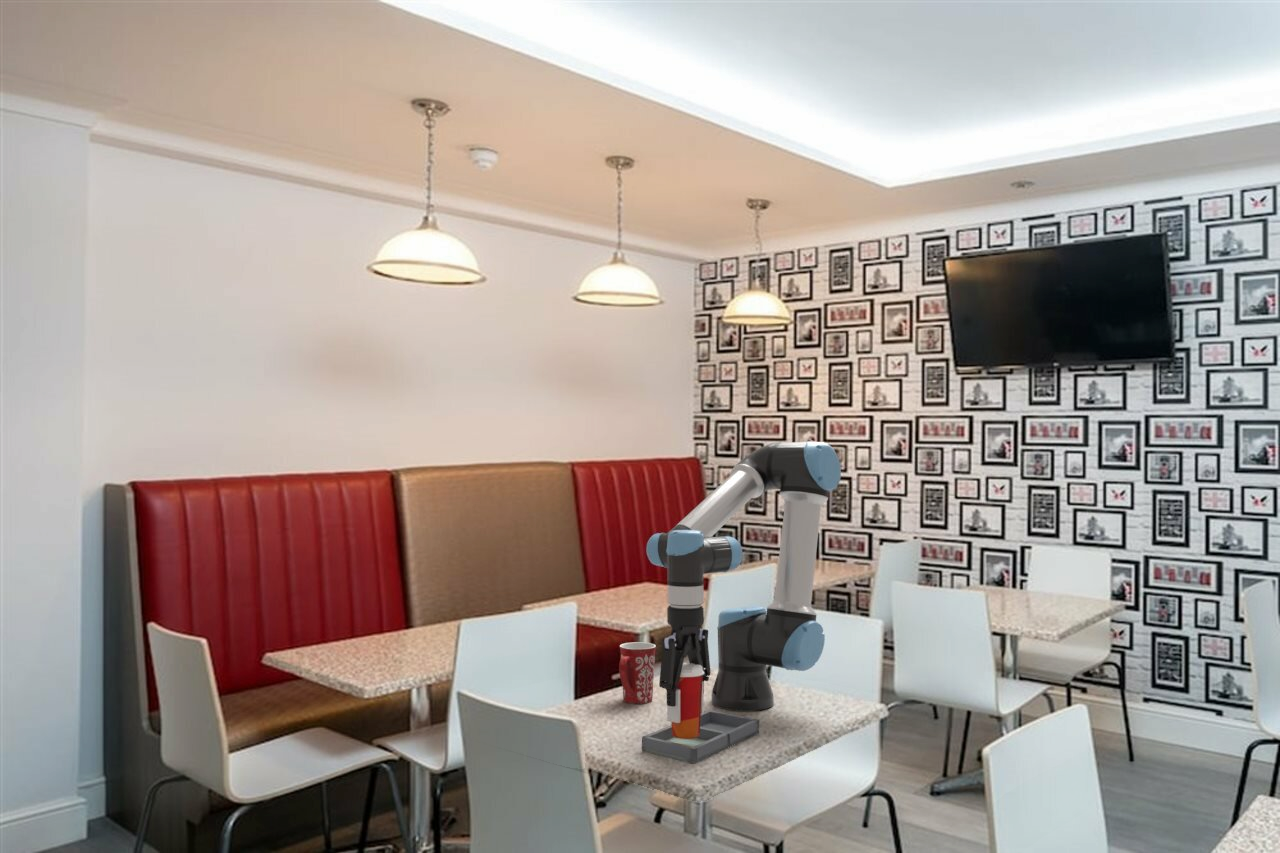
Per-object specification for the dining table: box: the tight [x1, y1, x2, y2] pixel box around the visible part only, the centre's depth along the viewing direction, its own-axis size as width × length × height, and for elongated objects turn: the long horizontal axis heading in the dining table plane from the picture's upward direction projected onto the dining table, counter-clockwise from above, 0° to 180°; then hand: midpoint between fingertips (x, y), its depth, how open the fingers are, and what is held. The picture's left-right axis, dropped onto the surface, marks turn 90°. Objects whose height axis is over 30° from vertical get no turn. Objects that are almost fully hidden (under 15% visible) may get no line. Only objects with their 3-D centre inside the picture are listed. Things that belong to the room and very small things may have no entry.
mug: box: [618, 641, 657, 704], centre depth 218 cm, size 13×9×14 cm
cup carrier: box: [641, 709, 760, 765], centre depth 187 cm, size 25×13×3 cm, turn 142°
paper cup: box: [671, 662, 704, 739], centre depth 182 cm, size 8×8×14 cm
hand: (685, 716), depth 182 cm, fingers closed on paper cup, 8 cm apart
